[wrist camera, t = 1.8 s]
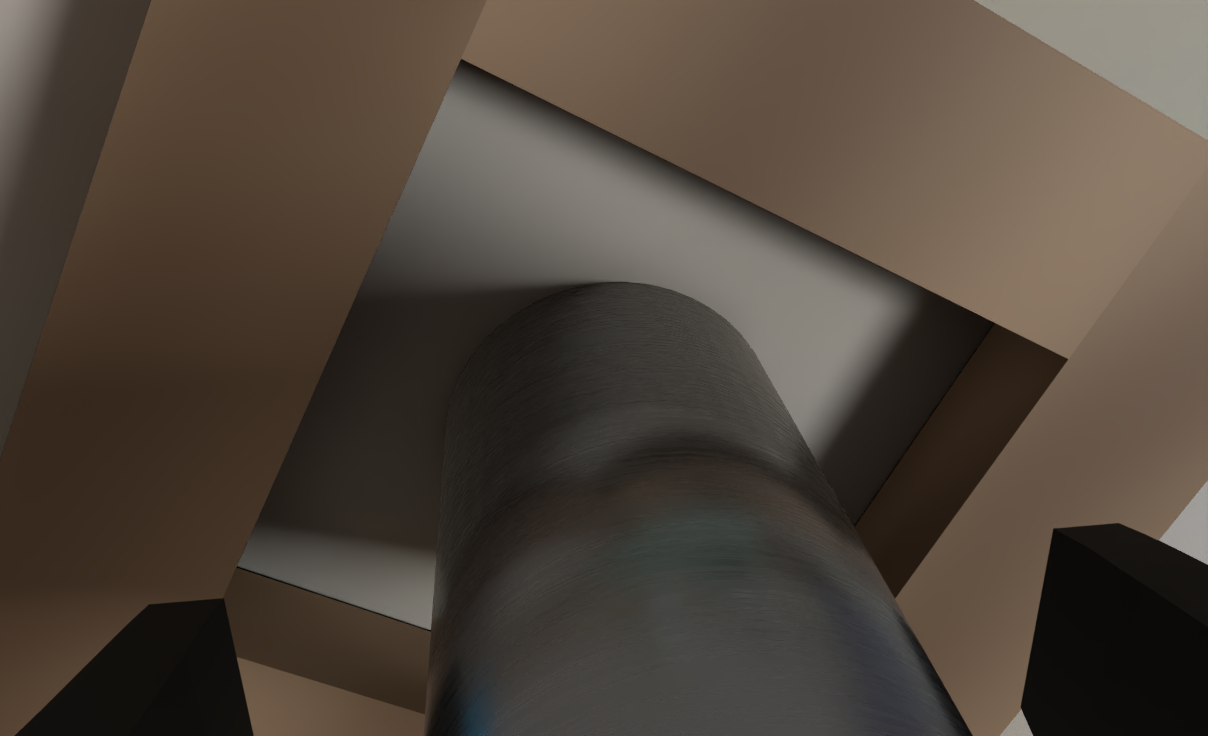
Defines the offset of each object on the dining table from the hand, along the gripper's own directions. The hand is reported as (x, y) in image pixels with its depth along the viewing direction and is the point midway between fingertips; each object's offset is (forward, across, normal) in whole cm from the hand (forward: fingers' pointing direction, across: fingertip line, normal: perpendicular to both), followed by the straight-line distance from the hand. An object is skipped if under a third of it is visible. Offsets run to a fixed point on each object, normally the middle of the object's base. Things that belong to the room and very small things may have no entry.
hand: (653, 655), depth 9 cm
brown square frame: (+4, 0, 0) cm, 4 cm away
